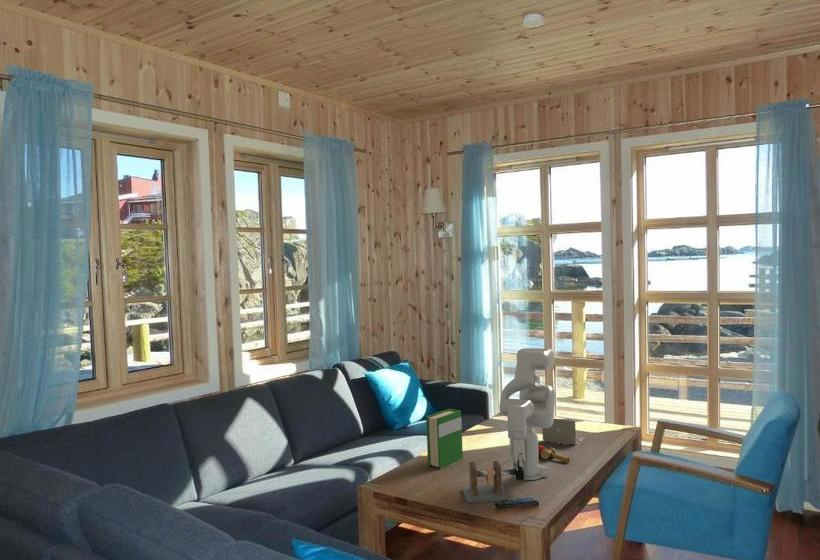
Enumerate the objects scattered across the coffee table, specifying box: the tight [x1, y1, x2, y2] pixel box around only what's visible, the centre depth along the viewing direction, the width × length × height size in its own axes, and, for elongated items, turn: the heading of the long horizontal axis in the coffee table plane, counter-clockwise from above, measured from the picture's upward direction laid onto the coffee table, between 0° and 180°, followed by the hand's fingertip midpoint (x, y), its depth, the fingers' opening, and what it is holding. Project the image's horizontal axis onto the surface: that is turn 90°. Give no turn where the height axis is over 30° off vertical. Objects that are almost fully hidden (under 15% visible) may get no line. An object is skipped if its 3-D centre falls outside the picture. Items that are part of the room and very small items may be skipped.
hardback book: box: [425, 408, 464, 469], centre depth 301 cm, size 18×7×24 cm, turn 138°
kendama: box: [538, 444, 571, 464], centre depth 300 cm, size 8×6×18 cm
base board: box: [461, 484, 509, 504], centre depth 259 cm, size 17×14×2 cm
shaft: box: [477, 463, 524, 482], centre depth 259 cm, size 20×4×6 cm, turn 92°
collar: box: [485, 465, 494, 485], centre depth 259 cm, size 2×6×6 cm, turn 2°
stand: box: [468, 460, 503, 496], centre depth 259 cm, size 12×8×11 cm, turn 92°
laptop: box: [542, 418, 584, 446], centre depth 330 cm, size 18×12×13 cm
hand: (518, 477), depth 259 cm, fingers closed on shaft, 4 cm apart
